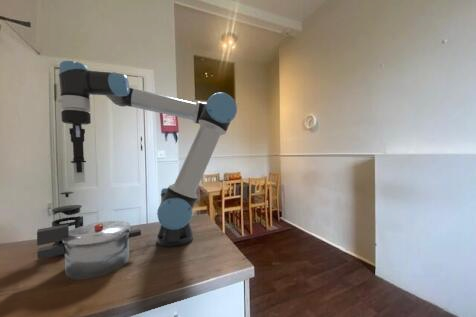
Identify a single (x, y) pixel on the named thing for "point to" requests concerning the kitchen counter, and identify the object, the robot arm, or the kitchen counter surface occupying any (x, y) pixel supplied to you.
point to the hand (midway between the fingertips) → (79, 182)
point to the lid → (83, 233)
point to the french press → (68, 211)
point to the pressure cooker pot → (92, 256)
